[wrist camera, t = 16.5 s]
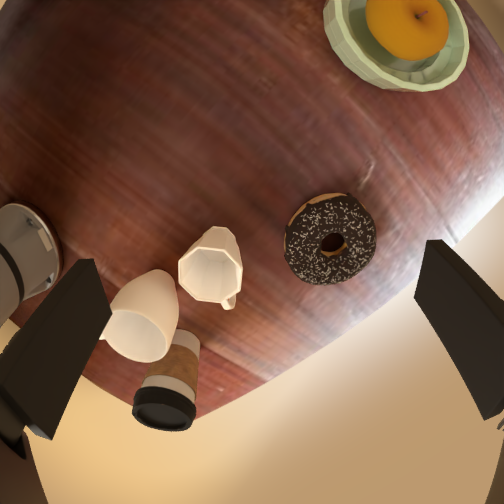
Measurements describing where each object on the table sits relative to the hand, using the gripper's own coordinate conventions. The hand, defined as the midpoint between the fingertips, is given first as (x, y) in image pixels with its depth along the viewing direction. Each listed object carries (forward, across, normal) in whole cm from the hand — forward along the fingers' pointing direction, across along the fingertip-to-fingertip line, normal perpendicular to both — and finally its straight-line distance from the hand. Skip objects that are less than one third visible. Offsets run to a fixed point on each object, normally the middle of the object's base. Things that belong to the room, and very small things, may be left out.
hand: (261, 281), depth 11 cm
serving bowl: (+24, -16, -16) cm, 33 cm away
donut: (+25, -8, +10) cm, 28 cm away
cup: (+25, +5, +12) cm, 28 cm away
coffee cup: (+25, +13, +27) cm, 39 cm away
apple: (+24, -16, -16) cm, 33 cm away
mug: (+25, +16, +16) cm, 34 cm away
